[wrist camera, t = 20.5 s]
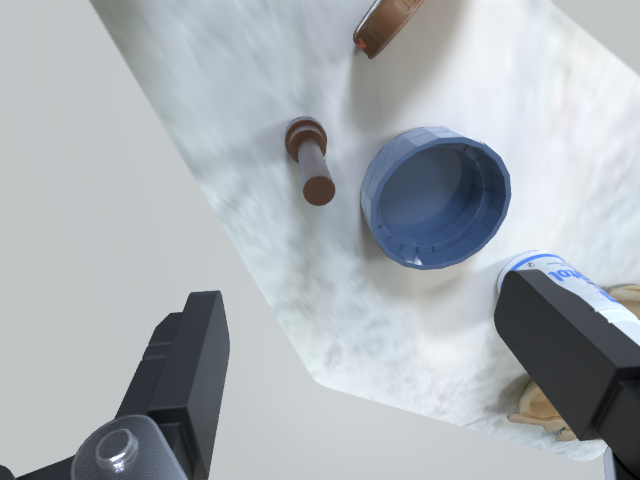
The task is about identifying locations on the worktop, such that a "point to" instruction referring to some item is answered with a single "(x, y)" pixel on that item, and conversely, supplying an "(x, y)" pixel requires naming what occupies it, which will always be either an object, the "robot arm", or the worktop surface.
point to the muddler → (310, 159)
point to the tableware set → (537, 405)
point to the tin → (383, 24)
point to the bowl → (435, 197)
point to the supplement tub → (577, 288)
